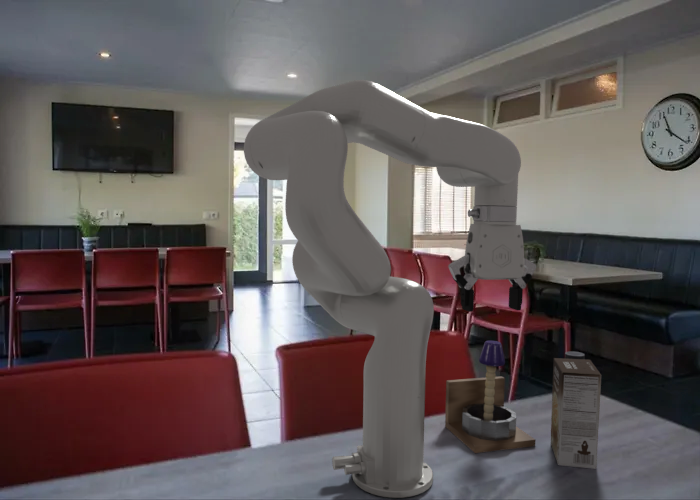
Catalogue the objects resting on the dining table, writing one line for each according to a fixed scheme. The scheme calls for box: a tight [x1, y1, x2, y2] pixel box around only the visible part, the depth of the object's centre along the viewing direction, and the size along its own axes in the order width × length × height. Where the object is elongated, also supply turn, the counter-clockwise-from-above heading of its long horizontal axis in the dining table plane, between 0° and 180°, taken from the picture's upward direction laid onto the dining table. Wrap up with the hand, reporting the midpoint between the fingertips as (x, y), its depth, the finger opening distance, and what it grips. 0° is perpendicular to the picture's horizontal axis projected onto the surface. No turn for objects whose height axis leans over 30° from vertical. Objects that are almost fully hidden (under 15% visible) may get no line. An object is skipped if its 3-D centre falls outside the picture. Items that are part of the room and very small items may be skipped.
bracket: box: [444, 376, 536, 454], centre depth 102 cm, size 12×12×9 cm
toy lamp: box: [478, 340, 506, 421], centre depth 102 cm, size 5×5×17 cm
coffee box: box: [550, 357, 602, 470], centre depth 94 cm, size 9×6×16 cm
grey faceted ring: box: [462, 403, 517, 441], centre depth 102 cm, size 10×10×3 cm
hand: (491, 309), depth 101 cm, fingers open, 9 cm apart
